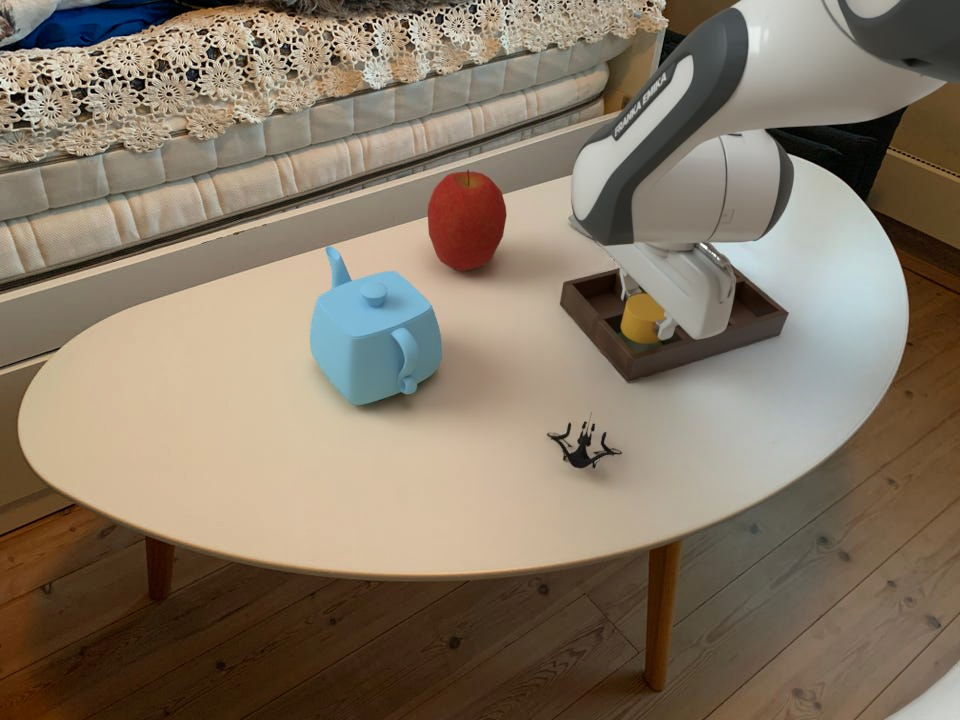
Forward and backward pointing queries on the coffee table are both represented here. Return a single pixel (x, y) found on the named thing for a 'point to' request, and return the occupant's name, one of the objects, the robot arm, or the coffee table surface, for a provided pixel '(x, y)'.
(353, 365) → the teapot
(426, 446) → the coffee table surface
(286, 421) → the coffee table surface
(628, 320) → the cylinder
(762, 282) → the coffee table surface
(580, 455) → the creature
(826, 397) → the coffee table surface
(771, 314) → the grid
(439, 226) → the apple
